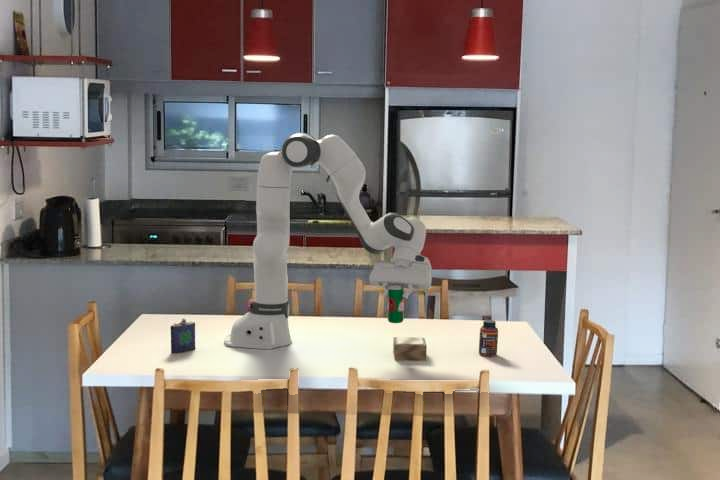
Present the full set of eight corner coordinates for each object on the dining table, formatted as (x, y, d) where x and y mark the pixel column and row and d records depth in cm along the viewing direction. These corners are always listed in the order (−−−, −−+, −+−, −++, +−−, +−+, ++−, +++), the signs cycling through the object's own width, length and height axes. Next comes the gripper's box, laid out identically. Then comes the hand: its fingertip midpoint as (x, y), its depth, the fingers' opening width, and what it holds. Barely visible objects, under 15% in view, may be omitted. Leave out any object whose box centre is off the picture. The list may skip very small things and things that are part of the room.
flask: (192, 347, 304) (192, 315, 303) (197, 349, 302) (197, 317, 301) (169, 352, 298) (168, 320, 296) (174, 354, 296) (174, 321, 294)
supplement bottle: (485, 357, 301) (487, 323, 299) (475, 353, 306) (476, 319, 304) (500, 356, 303) (502, 322, 302) (490, 351, 308) (491, 318, 307)
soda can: (401, 324, 296) (401, 287, 294) (386, 323, 297) (386, 286, 295) (404, 320, 301) (405, 284, 299) (389, 319, 302) (389, 283, 300)
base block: (394, 360, 295) (395, 344, 294) (393, 351, 305) (393, 336, 304) (426, 360, 295) (426, 344, 294) (423, 352, 305) (424, 336, 304)
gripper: (373, 254, 306) (362, 289, 298) (432, 258, 299) (423, 294, 291) (377, 265, 311) (367, 300, 303) (436, 269, 303) (427, 305, 296)
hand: (395, 297), depth 297 cm, fingers closed on soda can, 5 cm apart
